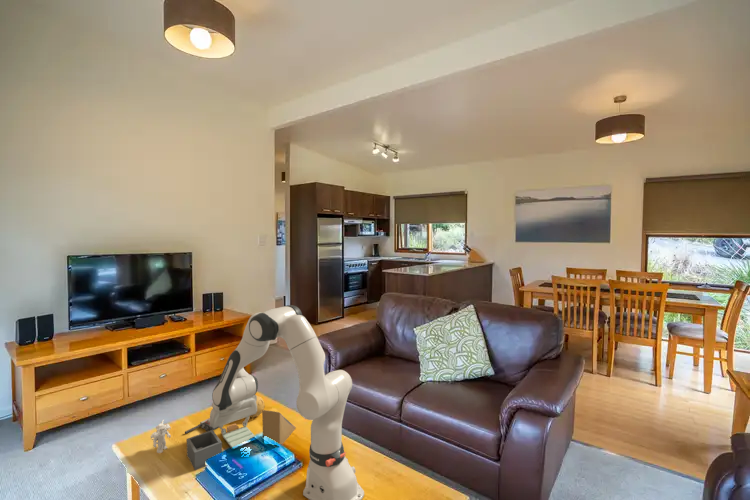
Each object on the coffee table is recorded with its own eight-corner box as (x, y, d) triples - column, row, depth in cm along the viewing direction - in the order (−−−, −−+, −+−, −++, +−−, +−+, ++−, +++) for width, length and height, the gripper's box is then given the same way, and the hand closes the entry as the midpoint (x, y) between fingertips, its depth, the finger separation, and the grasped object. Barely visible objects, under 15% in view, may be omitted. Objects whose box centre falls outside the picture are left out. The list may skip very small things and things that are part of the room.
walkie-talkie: (223, 415, 175) (183, 435, 158) (223, 407, 174) (183, 425, 157) (234, 420, 170) (194, 441, 153) (234, 411, 170) (194, 431, 153)
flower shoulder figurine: (166, 443, 151) (165, 416, 150) (173, 444, 150) (173, 417, 150) (148, 456, 142) (148, 427, 141) (157, 457, 141) (156, 428, 141)
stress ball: (249, 413, 178) (235, 407, 171) (261, 395, 181) (248, 389, 175) (259, 423, 171) (245, 417, 165) (272, 405, 175) (258, 398, 168)
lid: (256, 442, 152) (256, 436, 152) (232, 452, 145) (232, 445, 145) (242, 426, 164) (242, 420, 164) (219, 434, 157) (219, 429, 157)
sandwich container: (297, 427, 163) (296, 396, 163) (280, 447, 149) (280, 412, 148) (280, 425, 166) (280, 394, 165) (262, 443, 151) (262, 410, 150)
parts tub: (222, 459, 140) (221, 442, 140) (195, 470, 134) (194, 452, 133) (212, 445, 149) (212, 429, 149) (187, 455, 142) (186, 438, 142)
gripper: (253, 390, 166) (254, 418, 167) (208, 404, 152) (208, 435, 153) (259, 394, 161) (259, 424, 162) (212, 409, 148) (213, 441, 148)
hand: (234, 429), depth 157 cm, fingers open, 8 cm apart
